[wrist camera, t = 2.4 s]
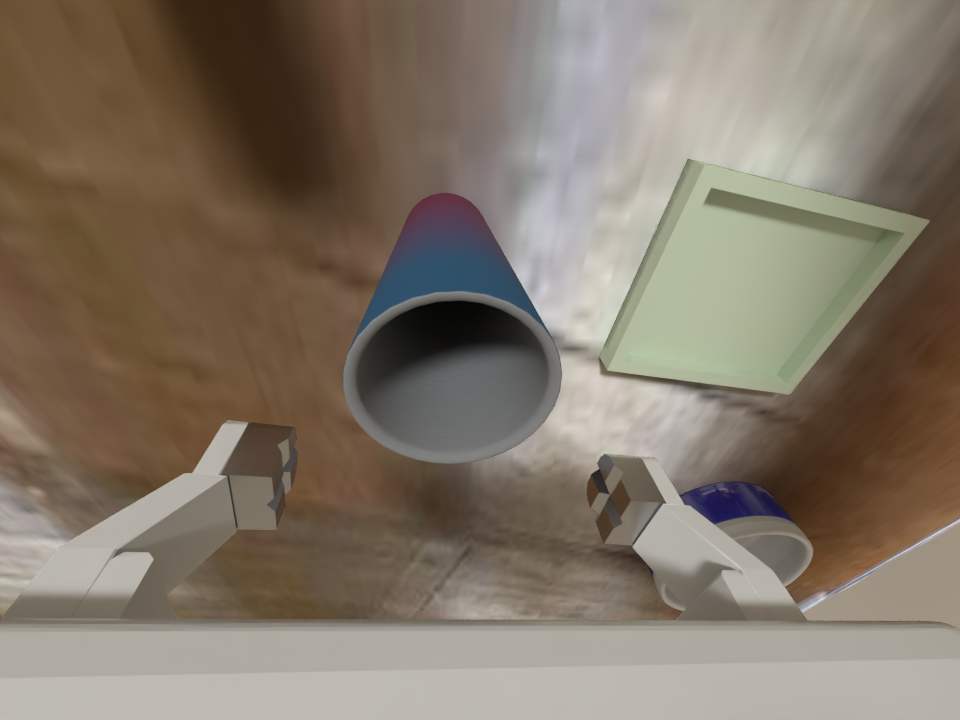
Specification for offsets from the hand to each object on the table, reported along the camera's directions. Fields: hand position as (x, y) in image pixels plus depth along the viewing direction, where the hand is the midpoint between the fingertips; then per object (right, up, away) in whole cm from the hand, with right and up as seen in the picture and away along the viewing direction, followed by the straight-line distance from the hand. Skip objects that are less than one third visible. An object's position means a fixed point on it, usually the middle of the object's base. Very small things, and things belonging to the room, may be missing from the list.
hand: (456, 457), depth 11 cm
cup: (-1, +10, +14) cm, 18 cm away
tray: (+19, +7, +18) cm, 27 cm away
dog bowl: (+26, -16, +36) cm, 47 cm away
